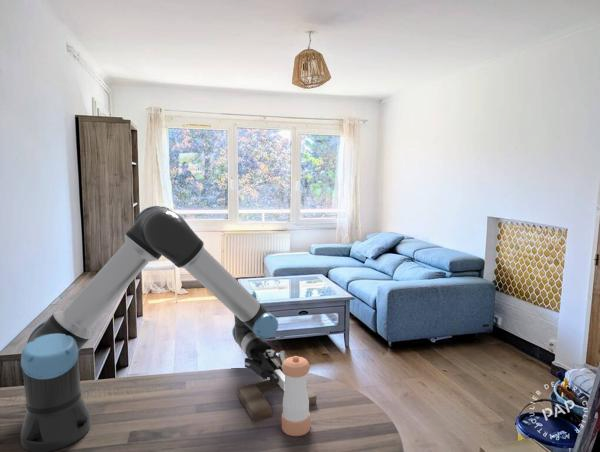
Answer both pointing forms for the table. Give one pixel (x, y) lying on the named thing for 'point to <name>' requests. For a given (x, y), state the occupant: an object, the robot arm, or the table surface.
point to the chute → (262, 398)
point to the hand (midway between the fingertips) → (286, 385)
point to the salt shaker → (295, 397)
